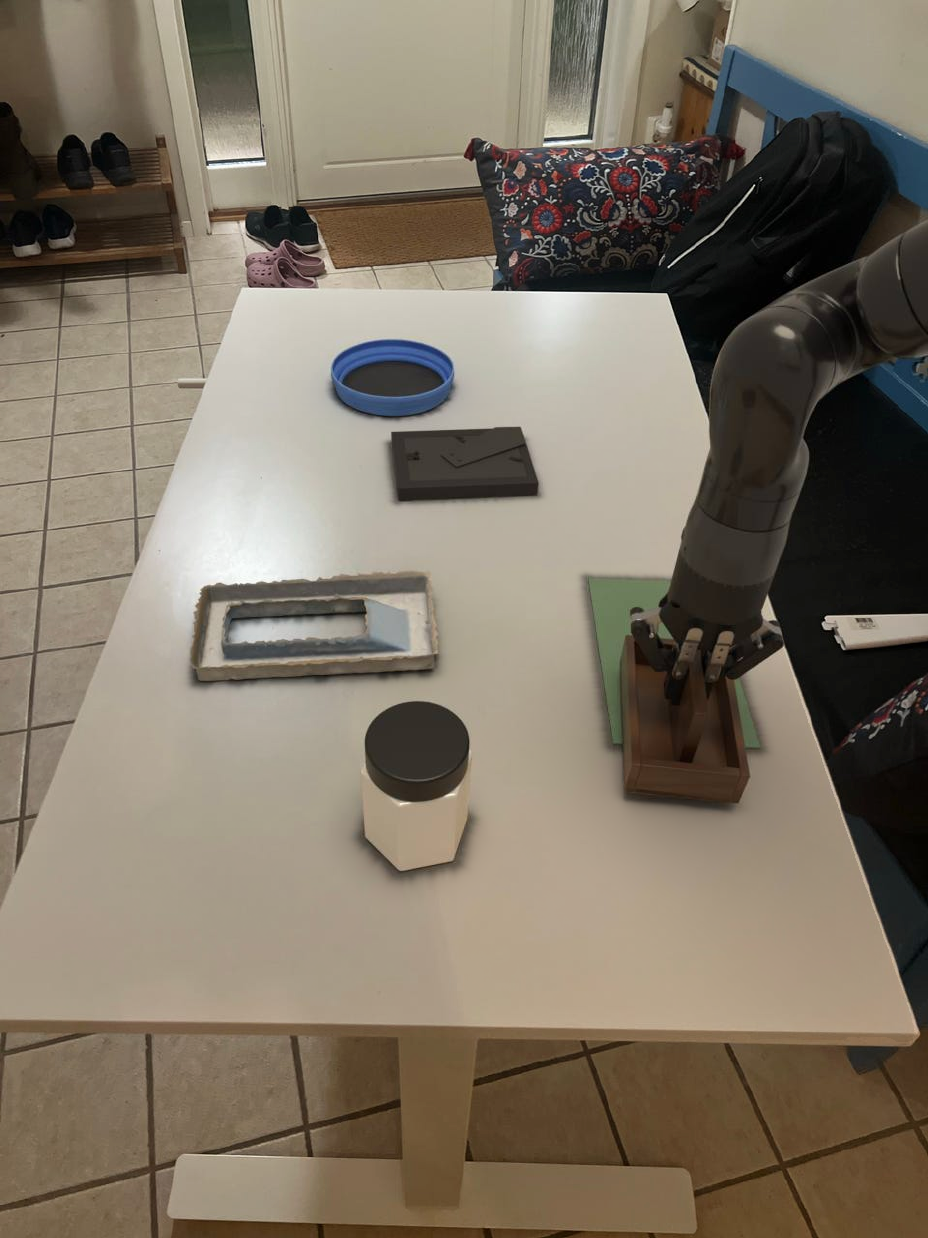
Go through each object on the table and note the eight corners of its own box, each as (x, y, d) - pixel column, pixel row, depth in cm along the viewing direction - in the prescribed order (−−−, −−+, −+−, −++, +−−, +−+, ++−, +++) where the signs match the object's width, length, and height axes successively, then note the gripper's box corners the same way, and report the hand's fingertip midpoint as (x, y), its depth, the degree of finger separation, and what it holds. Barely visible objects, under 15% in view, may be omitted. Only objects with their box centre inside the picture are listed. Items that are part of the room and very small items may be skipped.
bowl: (460, 365, 138) (460, 343, 135) (446, 425, 125) (446, 402, 122) (345, 355, 139) (344, 333, 136) (319, 413, 126) (318, 391, 123)
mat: (759, 748, 84) (760, 747, 84) (612, 744, 84) (613, 743, 84) (709, 583, 102) (710, 582, 102) (588, 579, 101) (588, 578, 101)
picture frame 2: (519, 439, 123) (391, 443, 121) (521, 425, 121) (391, 429, 119) (537, 495, 113) (398, 501, 111) (539, 480, 112) (398, 486, 110)
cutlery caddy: (738, 804, 78) (766, 738, 71) (624, 792, 78) (641, 726, 72) (718, 672, 89) (741, 606, 83) (619, 662, 90) (634, 596, 84)
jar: (456, 781, 80) (460, 691, 72) (479, 858, 74) (487, 770, 66) (357, 798, 78) (351, 708, 70) (373, 879, 73) (368, 792, 64)
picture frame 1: (440, 675, 90) (441, 654, 88) (188, 689, 87) (182, 669, 85) (428, 588, 99) (429, 568, 97) (201, 599, 96) (196, 578, 94)
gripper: (644, 573, 67) (609, 723, 79) (827, 591, 66) (764, 739, 78) (639, 515, 72) (608, 663, 84) (808, 530, 72) (753, 677, 83)
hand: (683, 699), depth 81 cm, fingers closed on cutlery caddy, 1 cm apart
